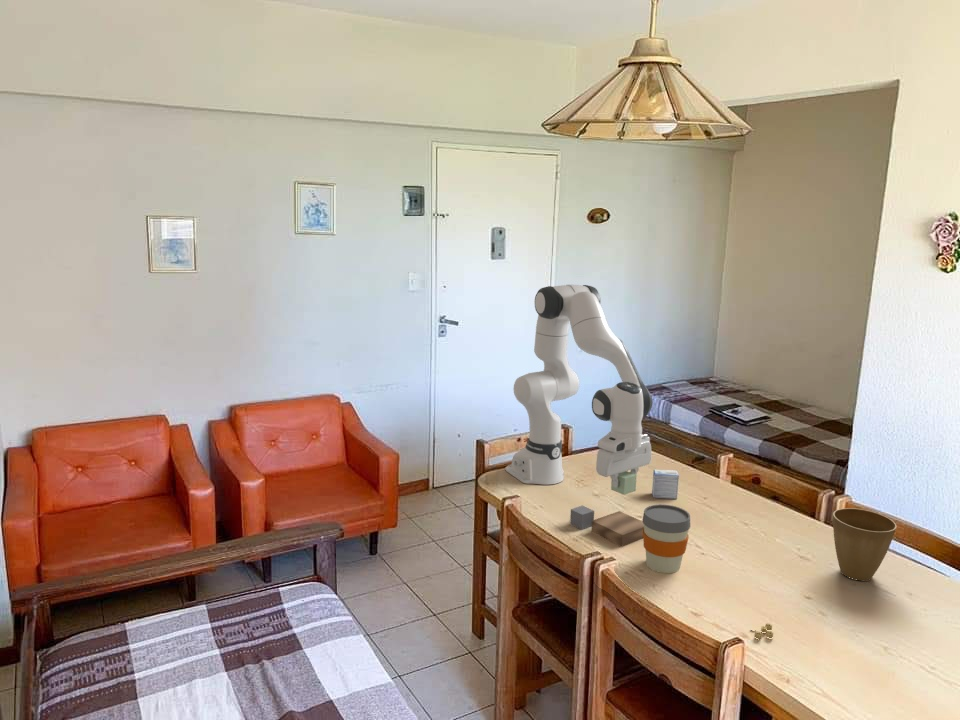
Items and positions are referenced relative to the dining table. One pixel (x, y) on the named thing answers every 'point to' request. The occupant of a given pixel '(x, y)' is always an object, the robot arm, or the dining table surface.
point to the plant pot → (861, 541)
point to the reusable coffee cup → (665, 537)
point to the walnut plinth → (618, 528)
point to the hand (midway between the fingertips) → (623, 484)
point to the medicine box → (665, 484)
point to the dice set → (763, 629)
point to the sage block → (625, 483)
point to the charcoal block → (581, 517)
